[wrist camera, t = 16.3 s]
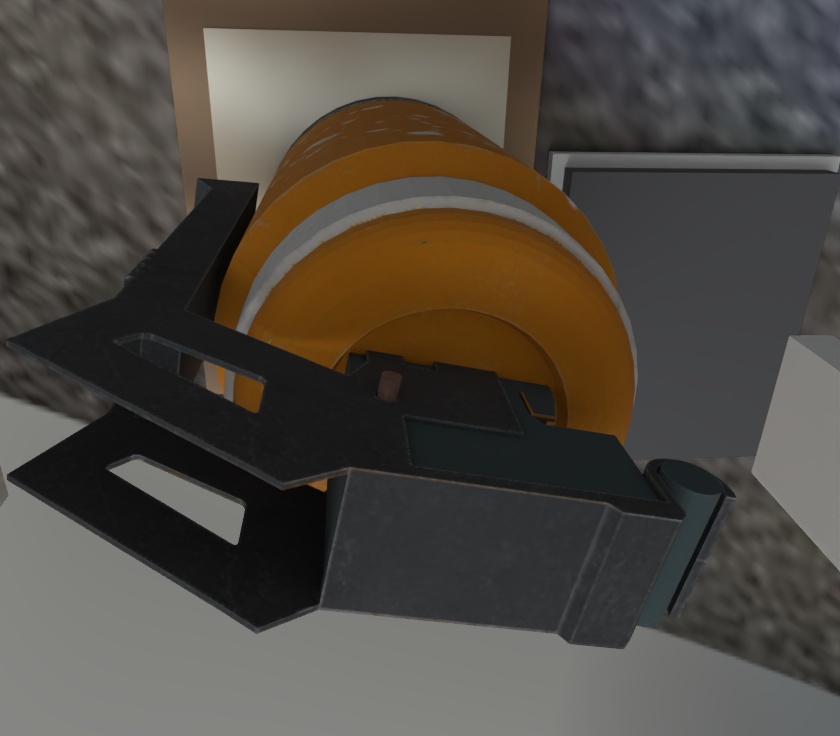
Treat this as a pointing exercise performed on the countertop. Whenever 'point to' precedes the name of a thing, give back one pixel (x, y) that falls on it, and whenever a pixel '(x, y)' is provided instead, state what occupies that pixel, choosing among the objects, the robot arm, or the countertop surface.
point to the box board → (342, 75)
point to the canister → (383, 397)
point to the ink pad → (705, 281)
